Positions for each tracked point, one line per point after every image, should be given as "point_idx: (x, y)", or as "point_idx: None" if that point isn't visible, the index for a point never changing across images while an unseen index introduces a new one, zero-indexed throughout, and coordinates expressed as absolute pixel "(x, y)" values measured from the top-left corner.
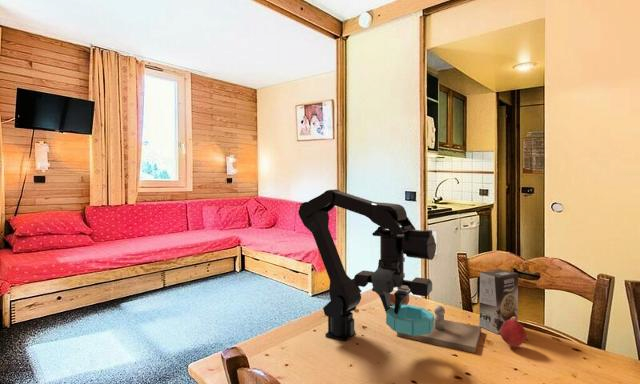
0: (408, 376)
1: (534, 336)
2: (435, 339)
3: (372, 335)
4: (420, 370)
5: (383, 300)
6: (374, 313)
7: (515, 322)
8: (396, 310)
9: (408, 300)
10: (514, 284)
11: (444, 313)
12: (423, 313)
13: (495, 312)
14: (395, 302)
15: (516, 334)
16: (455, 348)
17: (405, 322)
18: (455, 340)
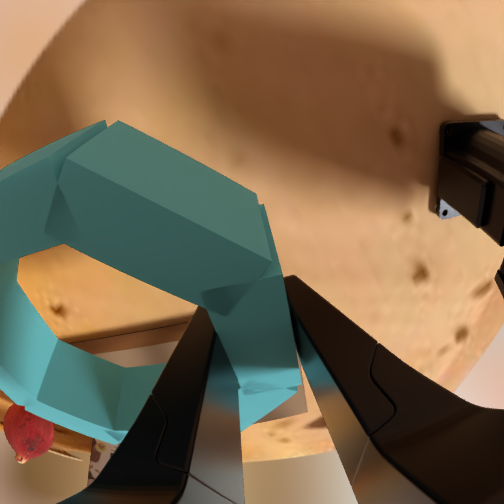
0: (54, 54)
1: (58, 439)
2: (139, 345)
3: (372, 240)
4: (47, 131)
5: (379, 379)
6: (412, 356)
7: (14, 449)
8: (188, 343)
9: None
10: None
11: None
12: (75, 407)
13: (95, 474)
14: (188, 423)
15: (5, 422)
16: (84, 341)
17: None
18: None
